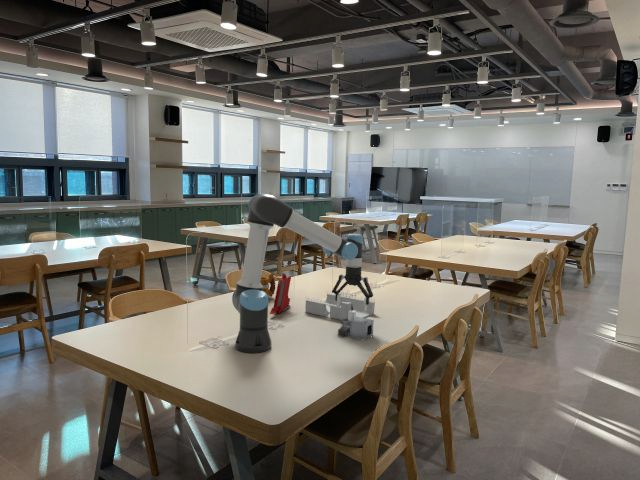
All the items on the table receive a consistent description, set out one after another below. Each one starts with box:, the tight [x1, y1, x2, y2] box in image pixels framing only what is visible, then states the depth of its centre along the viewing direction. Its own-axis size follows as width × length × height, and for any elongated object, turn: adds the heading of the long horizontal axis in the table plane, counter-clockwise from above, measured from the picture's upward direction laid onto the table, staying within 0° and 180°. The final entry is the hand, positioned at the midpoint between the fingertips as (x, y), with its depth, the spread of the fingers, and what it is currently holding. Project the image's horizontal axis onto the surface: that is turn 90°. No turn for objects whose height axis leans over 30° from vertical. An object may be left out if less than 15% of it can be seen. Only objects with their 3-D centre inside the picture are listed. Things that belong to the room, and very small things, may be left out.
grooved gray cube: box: [349, 317, 374, 341], centre depth 217 cm, size 8×8×8 cm
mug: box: [260, 272, 276, 301], centre depth 281 cm, size 11×16×15 cm, turn 132°
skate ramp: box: [305, 291, 376, 321], centre depth 253 cm, size 30×27×11 cm
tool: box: [269, 272, 292, 315], centre depth 258 cm, size 24×5×25 cm, turn 168°
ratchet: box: [337, 310, 356, 338], centre depth 226 cm, size 20×9×8 cm, turn 159°
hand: (351, 309), depth 230 cm, fingers open, 13 cm apart
